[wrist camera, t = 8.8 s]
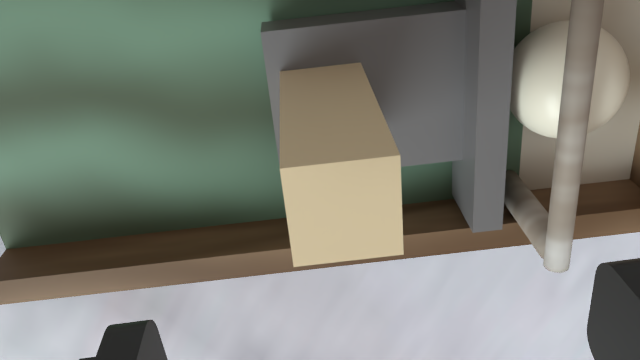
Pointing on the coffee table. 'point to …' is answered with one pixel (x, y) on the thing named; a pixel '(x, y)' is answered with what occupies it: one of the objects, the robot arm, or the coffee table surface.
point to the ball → (547, 78)
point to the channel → (251, 147)
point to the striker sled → (387, 118)
